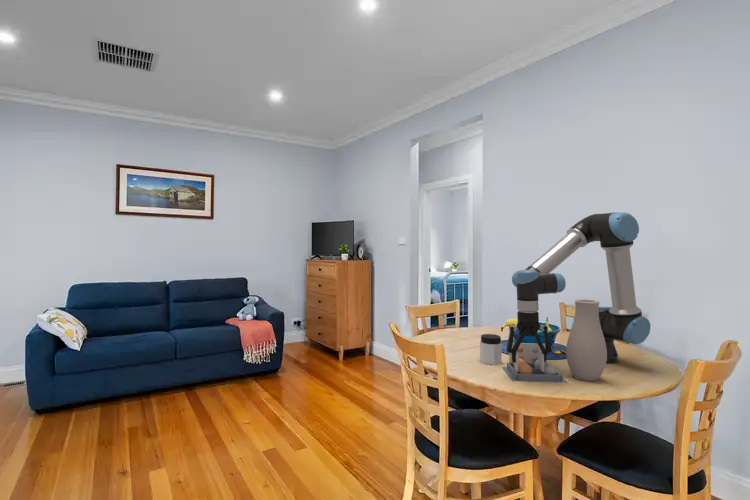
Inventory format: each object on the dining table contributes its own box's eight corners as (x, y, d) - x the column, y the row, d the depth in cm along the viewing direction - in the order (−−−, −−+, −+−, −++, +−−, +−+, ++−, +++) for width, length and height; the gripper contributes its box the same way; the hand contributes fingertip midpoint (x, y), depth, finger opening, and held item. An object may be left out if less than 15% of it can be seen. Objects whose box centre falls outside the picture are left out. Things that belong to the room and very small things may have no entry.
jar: (491, 368, 170) (491, 339, 170) (476, 363, 177) (476, 335, 177) (505, 364, 175) (505, 336, 175) (490, 360, 182) (490, 333, 182)
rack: (552, 370, 168) (552, 343, 167) (568, 385, 151) (568, 355, 150) (501, 369, 169) (501, 342, 169) (512, 383, 152) (512, 353, 152)
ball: (529, 375, 159) (530, 362, 159) (533, 379, 154) (534, 366, 154) (516, 374, 159) (516, 361, 159) (520, 379, 154) (520, 365, 154)
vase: (575, 385, 150) (576, 303, 150) (560, 373, 164) (561, 298, 164) (613, 386, 150) (615, 303, 149) (595, 374, 164) (596, 298, 163)
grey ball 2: (551, 377, 158) (556, 365, 158) (556, 382, 153) (561, 369, 153) (538, 372, 159) (543, 360, 158) (543, 377, 154) (547, 364, 154)
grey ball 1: (545, 369, 165) (545, 357, 165) (549, 374, 160) (549, 361, 160) (532, 369, 166) (532, 357, 166) (536, 373, 161) (536, 360, 161)
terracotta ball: (524, 369, 166) (524, 356, 166) (528, 373, 161) (528, 360, 161) (511, 369, 166) (512, 356, 166) (515, 373, 161) (515, 360, 161)
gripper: (553, 308, 159) (554, 367, 159) (496, 309, 160) (498, 367, 161) (560, 312, 151) (562, 373, 152) (501, 313, 153) (502, 374, 154)
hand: (529, 370), depth 157 cm, fingers open, 9 cm apart
